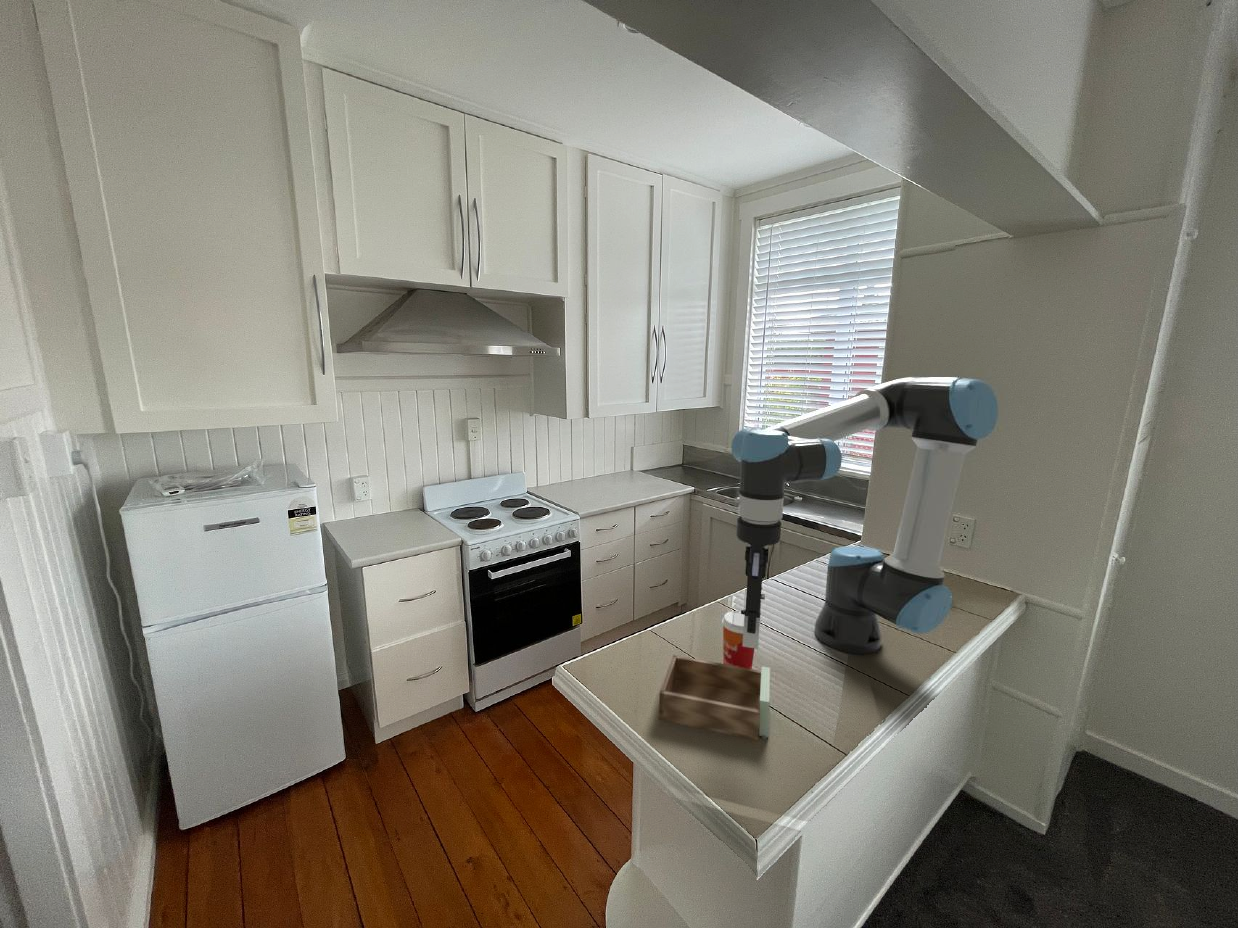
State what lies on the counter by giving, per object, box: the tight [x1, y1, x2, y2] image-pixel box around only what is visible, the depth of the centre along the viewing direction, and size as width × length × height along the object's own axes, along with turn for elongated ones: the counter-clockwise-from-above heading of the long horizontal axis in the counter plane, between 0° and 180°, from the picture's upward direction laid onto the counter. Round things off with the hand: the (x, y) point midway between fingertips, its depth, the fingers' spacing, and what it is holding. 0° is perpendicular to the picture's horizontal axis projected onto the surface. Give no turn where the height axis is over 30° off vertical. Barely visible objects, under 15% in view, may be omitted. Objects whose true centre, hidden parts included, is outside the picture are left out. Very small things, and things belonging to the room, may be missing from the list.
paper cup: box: [721, 610, 756, 669], centre depth 108 cm, size 8×8×14 cm
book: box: [758, 666, 771, 740], centre depth 95 cm, size 2×11×8 cm, turn 163°
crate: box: [658, 654, 761, 741], centre depth 98 cm, size 18×13×6 cm
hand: (750, 638), depth 94 cm, fingers open, 4 cm apart
